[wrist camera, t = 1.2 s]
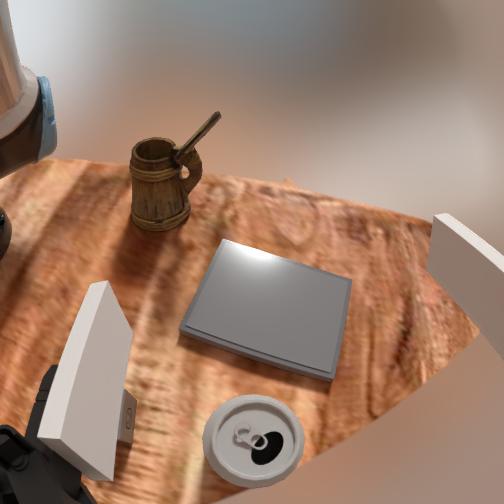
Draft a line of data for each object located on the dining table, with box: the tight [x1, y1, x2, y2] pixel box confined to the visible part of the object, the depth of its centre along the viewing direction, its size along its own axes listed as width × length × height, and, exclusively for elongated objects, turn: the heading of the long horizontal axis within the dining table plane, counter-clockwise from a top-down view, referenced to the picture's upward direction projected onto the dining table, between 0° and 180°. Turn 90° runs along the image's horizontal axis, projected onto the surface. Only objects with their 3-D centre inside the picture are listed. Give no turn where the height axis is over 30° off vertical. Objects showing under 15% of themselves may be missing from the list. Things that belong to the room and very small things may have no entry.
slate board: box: [179, 239, 352, 383], centre depth 38 cm, size 18×14×2 cm
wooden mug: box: [129, 112, 221, 231], centre depth 40 cm, size 9×14×18 cm, turn 75°
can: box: [202, 394, 305, 488], centre depth 24 cm, size 8×8×12 cm
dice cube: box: [117, 389, 137, 444], centre depth 27 cm, size 5×5×5 cm
